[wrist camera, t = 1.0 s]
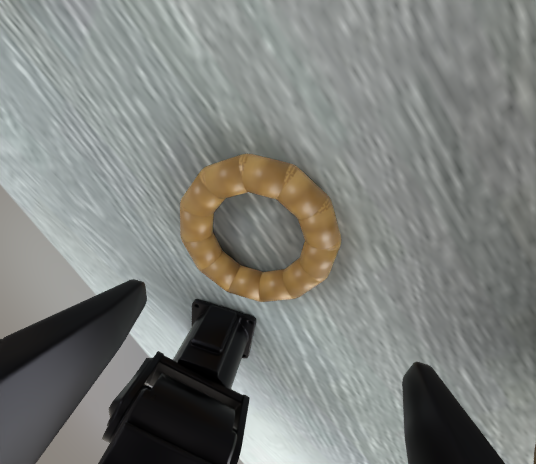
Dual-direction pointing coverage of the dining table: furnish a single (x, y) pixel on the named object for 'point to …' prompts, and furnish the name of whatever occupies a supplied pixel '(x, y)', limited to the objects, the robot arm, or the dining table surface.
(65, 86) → the dining table surface
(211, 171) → the ring
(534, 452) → the bowl
